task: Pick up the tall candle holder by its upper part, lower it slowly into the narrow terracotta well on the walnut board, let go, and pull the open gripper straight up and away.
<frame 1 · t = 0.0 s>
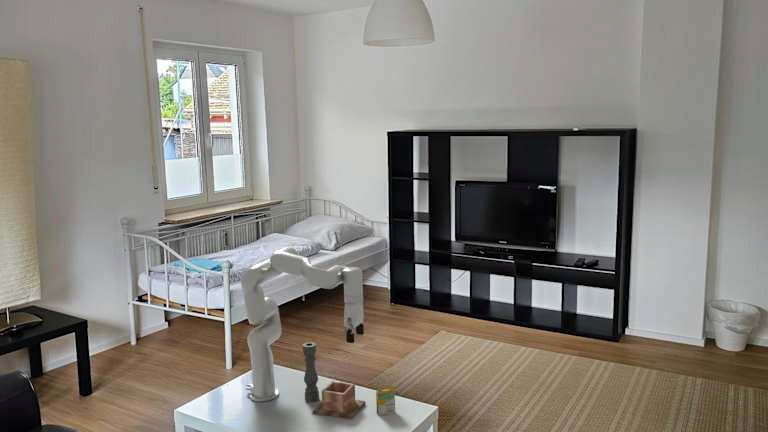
hand: (355, 338, 258), 31 cm above the table, tool pointing down, fingers open, 9 cm apart
crayon box: (386, 413, 260), on the table
well: (339, 408, 265), on the table
candle holder: (312, 399, 275), on the table
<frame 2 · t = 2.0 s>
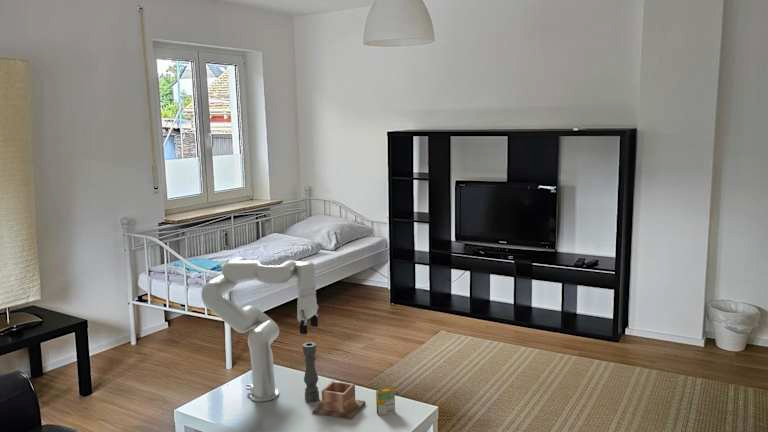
hand: (309, 329, 269), 32 cm above the table, tool pointing down, fingers open, 9 cm apart
nothing on the table moved.
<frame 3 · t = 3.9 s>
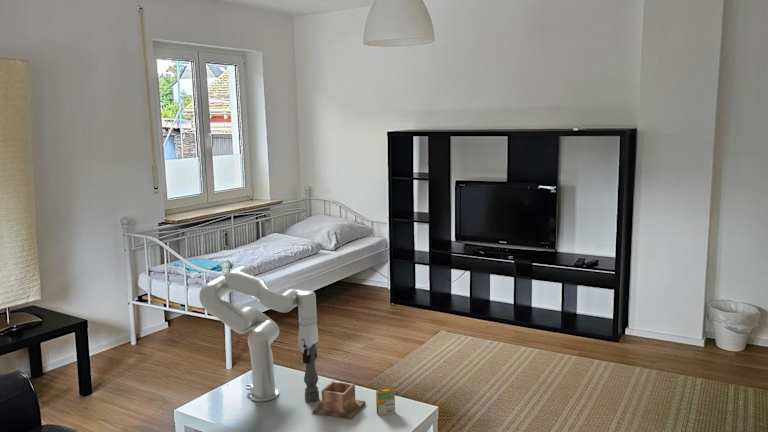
hand: (310, 360, 271), 18 cm above the table, tool pointing down, fingers closed on candle holder, 5 cm apart
candle holder: (312, 399, 275), on the table, touching gripper
everything else where it was.
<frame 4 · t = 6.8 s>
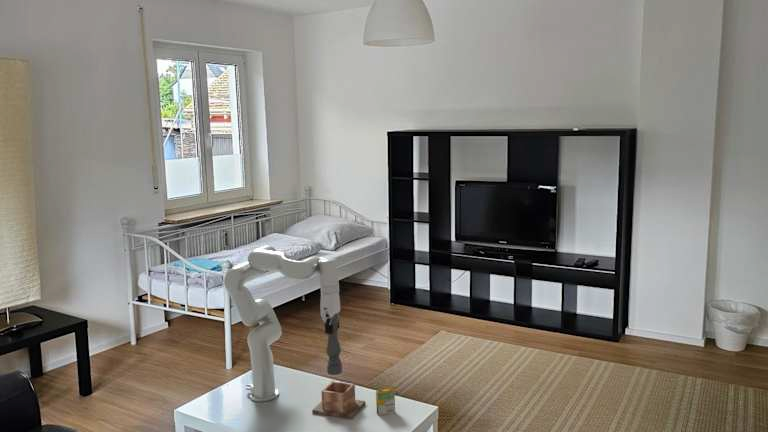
hand: (332, 330, 261), 34 cm above the table, tool pointing down, fingers closed on candle holder, 5 cm apart
candle holder: (334, 372, 264), point 16 cm above the table, touching gripper
everything else where it was.
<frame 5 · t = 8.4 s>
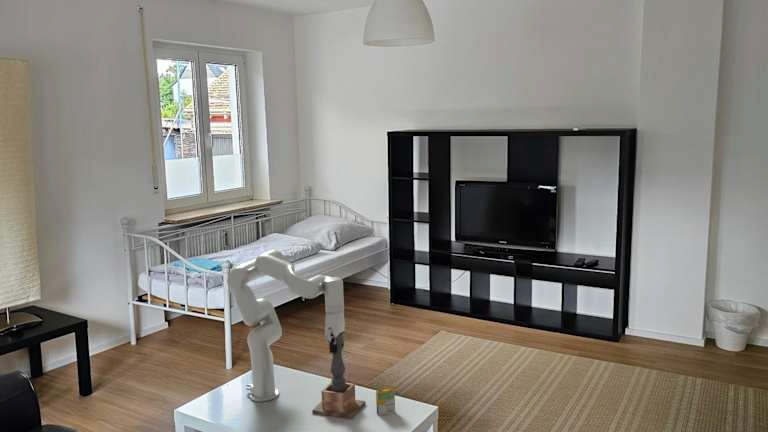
hand: (336, 349, 261), 26 cm above the table, tool pointing down, fingers closed on candle holder, 5 cm apart
candle holder: (338, 391, 264), point 8 cm above the table, touching gripper
everything else where it was.
when the fingers open (21 cm above the table, at t = 9.8 s): candle holder drops 1 cm, resting on well.
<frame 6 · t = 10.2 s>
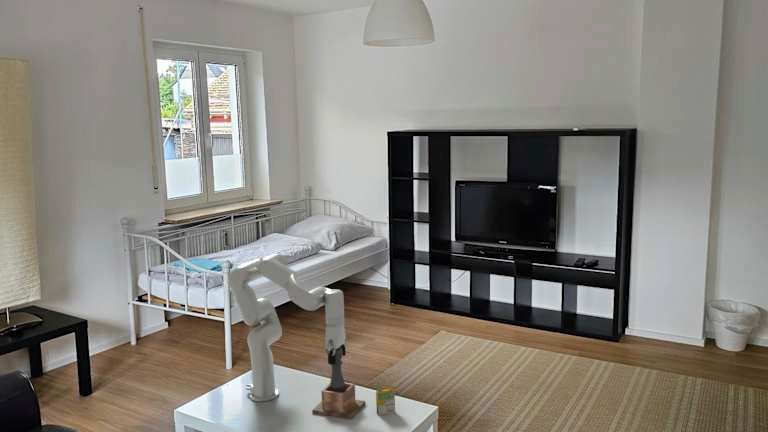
hand: (337, 359, 261), 22 cm above the table, tool pointing down, fingers open, 9 cm apart
candle holder: (338, 405, 265), point 1 cm above the table, touching well
everything else where it was.
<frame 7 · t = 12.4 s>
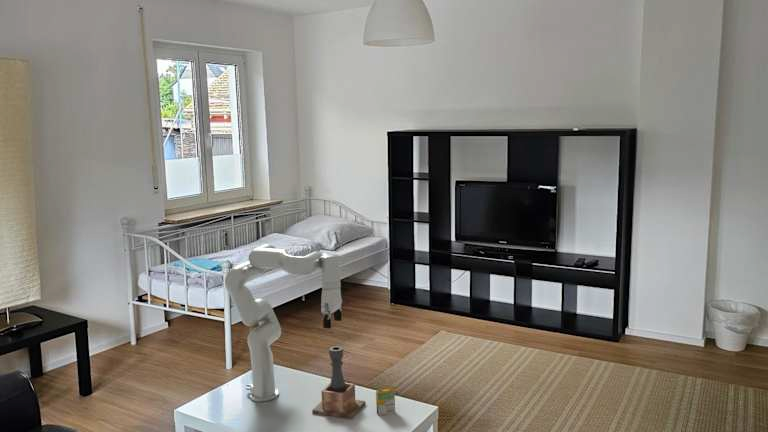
hand: (332, 324, 261), 36 cm above the table, tool pointing down, fingers open, 9 cm apart
nothing on the table moved.
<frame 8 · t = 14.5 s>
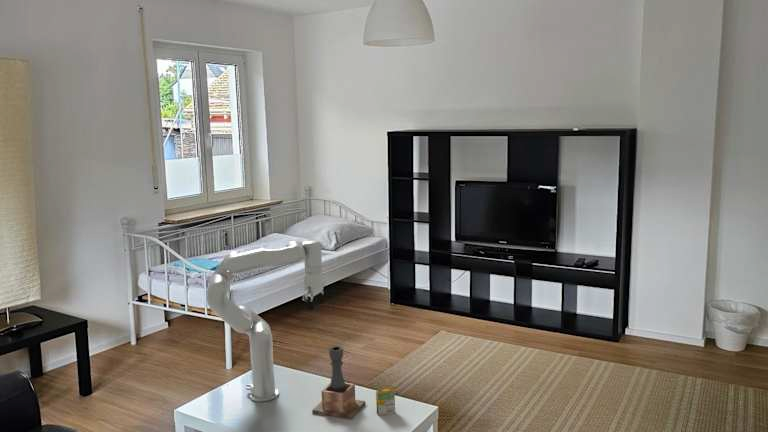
hand: (315, 306, 279), 38 cm above the table, tool pointing down, fingers open, 9 cm apart
nothing on the table moved.
at the end: candle holder 0.2 cm off-centre on the well, point 1.3 cm above the well's base; candle holder tilted 0°; the gripper is holding nothing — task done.
